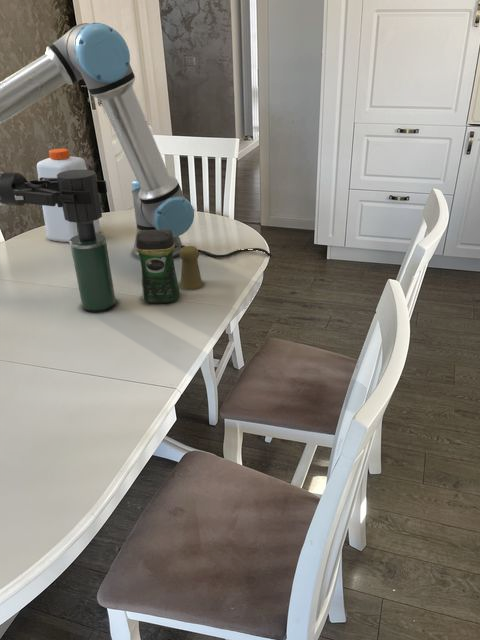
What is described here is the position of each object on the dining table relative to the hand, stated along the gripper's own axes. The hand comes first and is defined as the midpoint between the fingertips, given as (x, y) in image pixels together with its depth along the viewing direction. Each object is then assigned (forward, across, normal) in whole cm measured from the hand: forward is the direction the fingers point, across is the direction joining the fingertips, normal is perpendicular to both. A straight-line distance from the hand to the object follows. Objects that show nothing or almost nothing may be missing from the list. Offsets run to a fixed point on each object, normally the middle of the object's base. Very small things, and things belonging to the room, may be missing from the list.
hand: (98, 192), depth 125 cm
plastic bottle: (-32, -50, -30) cm, 67 cm away
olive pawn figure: (+16, -15, -30) cm, 37 cm away
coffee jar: (+10, -6, -30) cm, 32 cm away
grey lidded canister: (-5, 0, -6) cm, 8 cm away
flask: (-5, 0, -29) cm, 30 cm away
